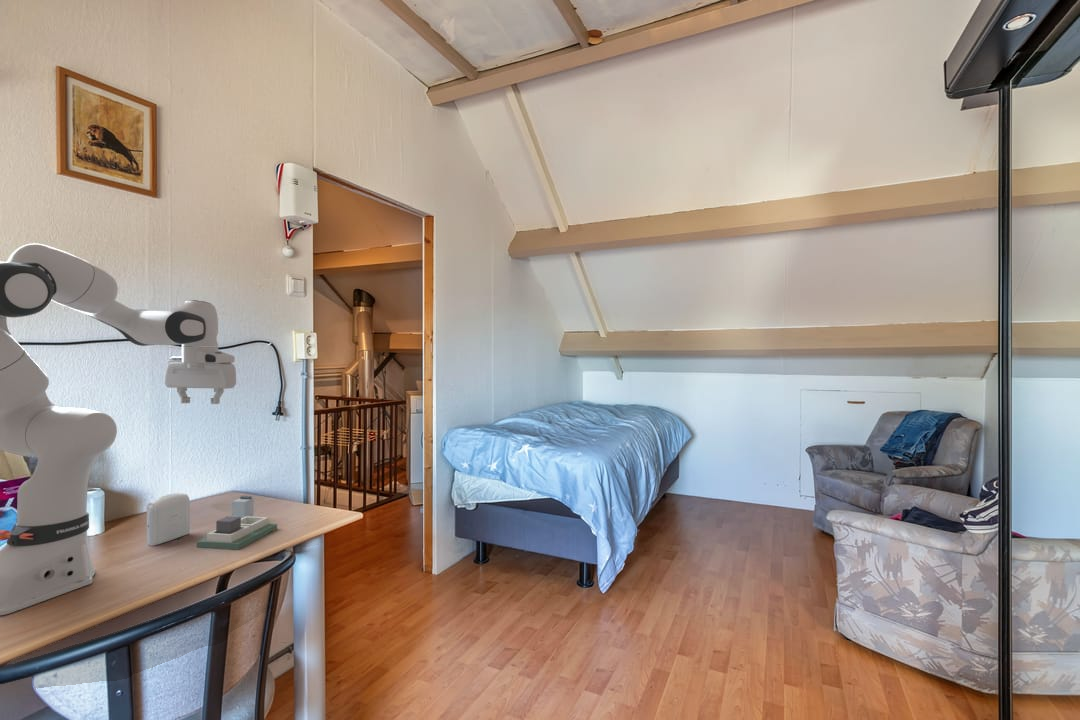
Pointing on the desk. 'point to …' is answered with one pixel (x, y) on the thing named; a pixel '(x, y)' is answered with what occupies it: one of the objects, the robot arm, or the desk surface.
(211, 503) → the desk surface
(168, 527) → the photo printer
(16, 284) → the robot arm
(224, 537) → the header board
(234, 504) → the plug
